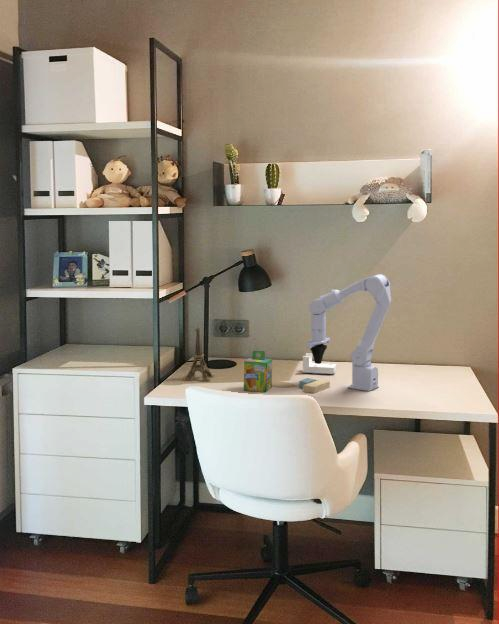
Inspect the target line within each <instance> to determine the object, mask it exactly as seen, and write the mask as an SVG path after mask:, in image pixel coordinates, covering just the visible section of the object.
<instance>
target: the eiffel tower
mask: <svg viewBox="0 0 499 624" xmlns="http://www.w3.org/2000/svg"><path fill="white" fill-rule="evenodd" d="M194 331H195V332H196V333H195V334H196V335H195V344H194V345H195V347H194V354H193V356H192V357H193V361H192V364H191V366H190V367H191V368H190V370H189V371H188V373H187V375H186V376H185V378H184V379H183V382H191V381H192V377H193V378H194V377H196V372H200V373H201V374H202V381H201V382H204V383H210V381H211V379H210V378H214V377H215V375H214V374H213V373H212V371H211V370H210V369H209V368H208V366H207V363H206V362H205V359H204V356H205V354H204V353H203V348H202V340H201V339H202V338H201V331H202V329H201V327H199V325H197V327H196V328H195V329H194ZM198 360H199V363H198Z"/></svg>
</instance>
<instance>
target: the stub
mask: <svg viewBox="0 0 499 624" xmlns="http://www.w3.org/2000/svg"><path fill="white" fill-rule="evenodd" d="M316 380H317V379H313V378H309V377H307V378H304V379H301V380H299V382H298V388H302V389H303V385H305V384H308V383H311V382H313V381H316Z"/></svg>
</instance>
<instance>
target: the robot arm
mask: <svg viewBox="0 0 499 624" xmlns="http://www.w3.org/2000/svg"><path fill="white" fill-rule="evenodd" d="M359 291H361V292H362V291H363V292H366V291H367V292H368V293H370V295H371V296H372V297H373V298H374V300H375V303H376V304H375V306H374V308H373V311H372V312H371V316H370V317H369V319H368V323H367V324H366V327H365V330H364V333H363V334H362V337H361V340H360V341H359V342H358V344H357V346H356V348H355V349H354V350H353V351H352V352H351V354H350V361H351V363H352V365H351V366H352V368H351V369H352V370H351V371H352V372H351V373H352V375H351V385H348V386H347V388H349V389H352V390H353V389H355V390H361V391H366V392H370V391H373V390H375V389H377V388H380V387H379V370H378V367H377V366H374V365H372V362H371V360H372V359H373V358H374V348H375V342H376V340H377V337H378V335H379V332H380V330H381V327H382V325H383V324H384V320H385V319H386V316H387V313H388V311H389V308H390V307H391V303H392V293H391V283H390V280H389V279H388V278H387V276H385V275H384V274H382V273H377V274H375V275H372V276H369V277H365V278H363V279H360V280H357V281H356V282H354V283H352V284H351V285H349V286H346V287H345V288H343V289H341V290H339V289H330V290H329V291H328V293H326V294H323V295H319V296H318V297H319V298H316V299H314V298H313V300H312V301H311V302H310V303H309V306H308V308H309V311H310V314H311V316H310V339H309V338H308V342H306V343H305V348H306V349H309V350H310V352H311V354H312V358H313V360H314V363H316V364H321V363H322V361H323V356H324V354H325V351H326V350H327V348H328V345H327V343H328V344H329V343H330V342H331V338H330V337H326V336H327V335H326V332H327V331H326V330H327V329H326V327H327V323H326V322H327V321H326V320H327V318H326V313H327V311H328V310H330V309H333V308H334V307H336V306H338V305H340V304H342V303H343V302H344V300H345V298H347V297H349V296H351V295H353V294H355V293H358V292H359Z"/></svg>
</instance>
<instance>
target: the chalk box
mask: <svg viewBox="0 0 499 624" xmlns="http://www.w3.org/2000/svg"><path fill="white" fill-rule="evenodd" d="M265 352H266V351H265V350H253V351H252V356H250V357H248V358H247V359H246V360H244V364H243V366H244V367H243V391H244V392H259V393H267V392H268V391H269V390H271V388H272V387H273V386H272V384H273V359H272V358H270V357H266V356H265V354H266V353H265ZM258 354H260V356H256V355H258Z"/></svg>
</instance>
